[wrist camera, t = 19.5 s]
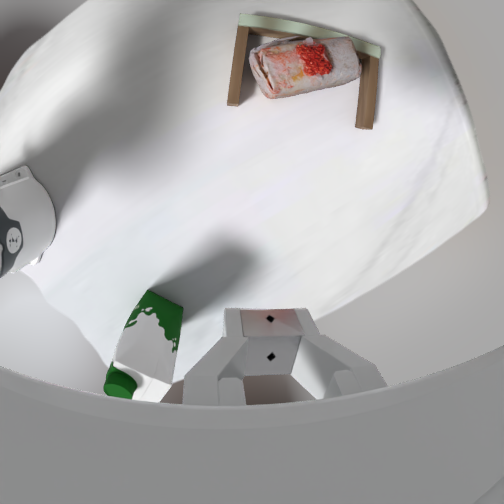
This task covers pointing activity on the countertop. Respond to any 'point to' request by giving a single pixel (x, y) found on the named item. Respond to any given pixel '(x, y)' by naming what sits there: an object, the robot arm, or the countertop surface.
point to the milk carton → (146, 351)
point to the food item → (304, 65)
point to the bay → (303, 31)
